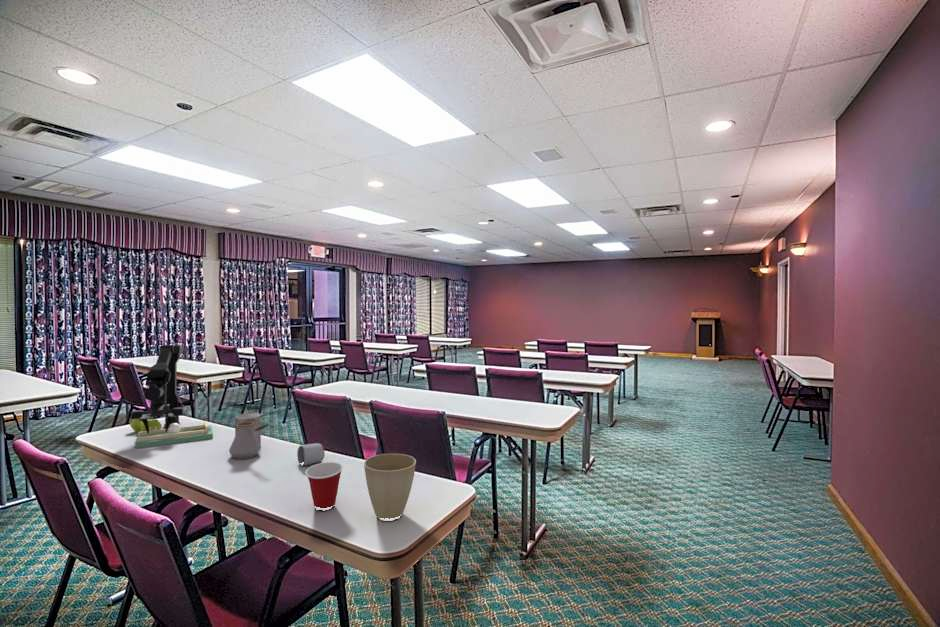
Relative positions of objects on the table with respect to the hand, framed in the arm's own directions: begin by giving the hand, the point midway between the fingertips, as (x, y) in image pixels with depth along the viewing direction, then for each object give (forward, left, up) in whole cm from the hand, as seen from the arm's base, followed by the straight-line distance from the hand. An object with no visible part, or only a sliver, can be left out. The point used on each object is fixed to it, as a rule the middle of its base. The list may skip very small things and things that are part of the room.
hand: (157, 432), depth 198 cm
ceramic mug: (+60, +51, -4) cm, 79 cm away
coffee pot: (+44, +33, -4) cm, 55 cm away
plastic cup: (+102, +46, -4) cm, 112 cm away
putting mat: (-1, +7, -4) cm, 8 cm away
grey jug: (+29, +33, -4) cm, 44 cm away
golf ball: (0, +6, +1) cm, 6 cm away
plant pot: (+117, +61, -4) cm, 132 cm away
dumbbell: (-17, -5, -4) cm, 18 cm away
